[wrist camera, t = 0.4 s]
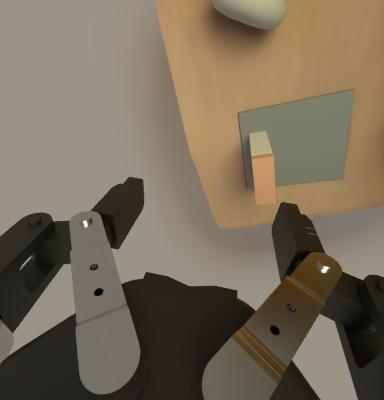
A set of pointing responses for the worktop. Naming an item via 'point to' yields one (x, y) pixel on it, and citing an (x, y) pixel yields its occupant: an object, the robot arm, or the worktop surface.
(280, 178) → the slate mat
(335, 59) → the worktop surface
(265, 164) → the cream and orange block
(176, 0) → the worktop surface
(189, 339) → the robot arm
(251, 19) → the donut
